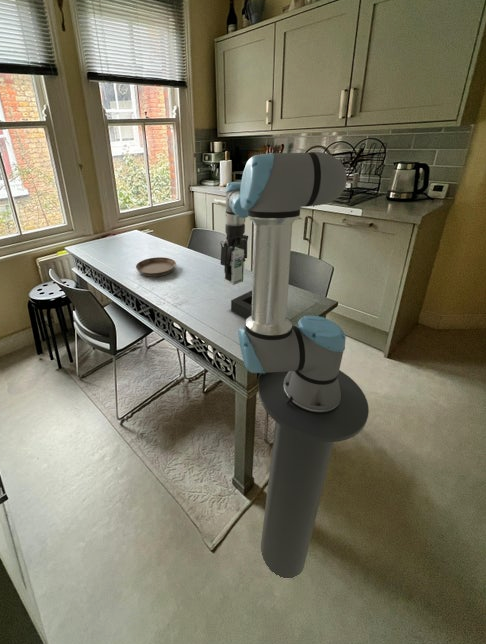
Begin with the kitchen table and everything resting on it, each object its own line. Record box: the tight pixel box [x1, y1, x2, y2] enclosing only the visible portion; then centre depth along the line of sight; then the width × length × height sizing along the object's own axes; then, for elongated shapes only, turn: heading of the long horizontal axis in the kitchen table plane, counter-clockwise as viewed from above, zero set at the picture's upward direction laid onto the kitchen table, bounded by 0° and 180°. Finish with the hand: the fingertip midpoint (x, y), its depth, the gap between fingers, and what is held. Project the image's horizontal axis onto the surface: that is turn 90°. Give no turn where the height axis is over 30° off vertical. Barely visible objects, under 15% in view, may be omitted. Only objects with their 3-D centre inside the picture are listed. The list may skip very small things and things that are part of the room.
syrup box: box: [223, 247, 245, 286], centre depth 129 cm, size 6×6×14 cm
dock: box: [230, 290, 252, 320], centre depth 124 cm, size 13×13×5 cm
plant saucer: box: [135, 256, 177, 277], centre depth 163 cm, size 21×21×3 cm
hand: (233, 277), depth 132 cm, fingers closed on syrup box, 6 cm apart
